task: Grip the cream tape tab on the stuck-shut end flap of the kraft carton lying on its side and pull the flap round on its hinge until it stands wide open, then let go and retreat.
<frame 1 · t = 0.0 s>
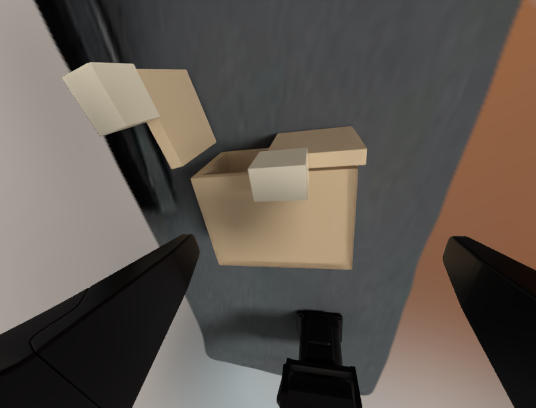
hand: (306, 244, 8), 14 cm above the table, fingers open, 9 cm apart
carton: (284, 189, 23), on the table
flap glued: (312, 153, 16), point 5 cm above the table, hinge at 0.0°
flap open: (167, 119, 16), point 5 cm above the table, hinge at 100.0°
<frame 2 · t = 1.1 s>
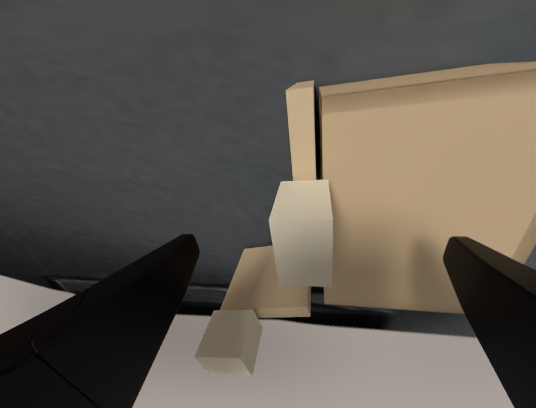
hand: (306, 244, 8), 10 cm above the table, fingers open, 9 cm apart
carton: (385, 172, 16), on the table
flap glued: (305, 159, 11), point 5 cm above the table, hinge at 0.0°
flap open: (266, 293, 17), point 5 cm above the table, hinge at 100.0°
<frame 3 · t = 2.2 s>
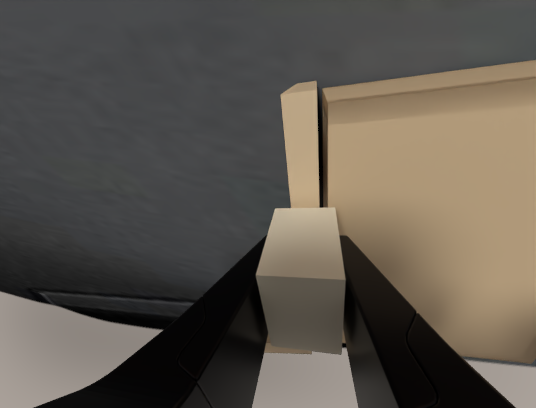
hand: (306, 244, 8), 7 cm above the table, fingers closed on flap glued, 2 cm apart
carton: (397, 186, 14), on the table
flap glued: (306, 177, 9), point 5 cm above the table, hinge at 0.0°, touching gripper
flap open: (261, 322, 15), point 5 cm above the table, hinge at 100.0°
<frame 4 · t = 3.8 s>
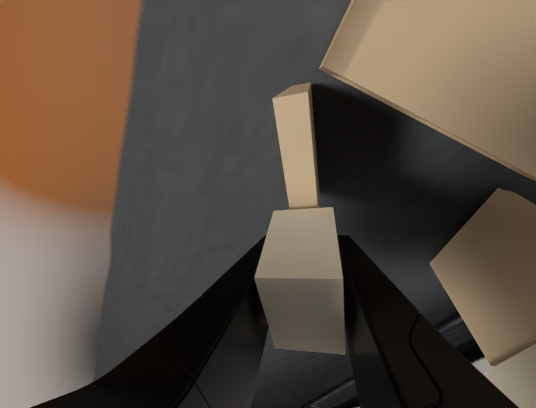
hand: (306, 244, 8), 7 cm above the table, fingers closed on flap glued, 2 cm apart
carton: (496, 21, 10), on the table
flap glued: (303, 178, 9), point 5 cm above the table, hinge at 56.1°, touching gripper
flap open: (530, 299, 10), point 5 cm above the table, hinge at 100.0°
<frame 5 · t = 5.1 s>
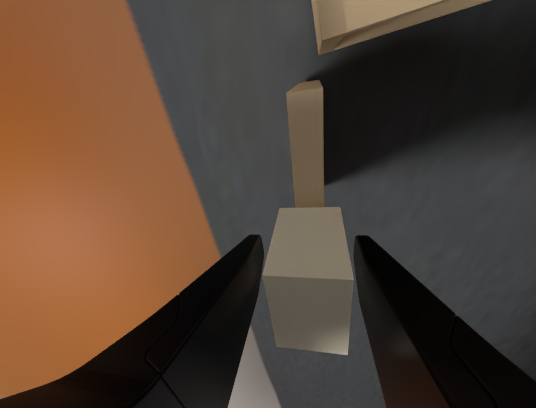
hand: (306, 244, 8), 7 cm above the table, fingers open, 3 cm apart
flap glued: (309, 176, 9), point 5 cm above the table, hinge at 97.5°
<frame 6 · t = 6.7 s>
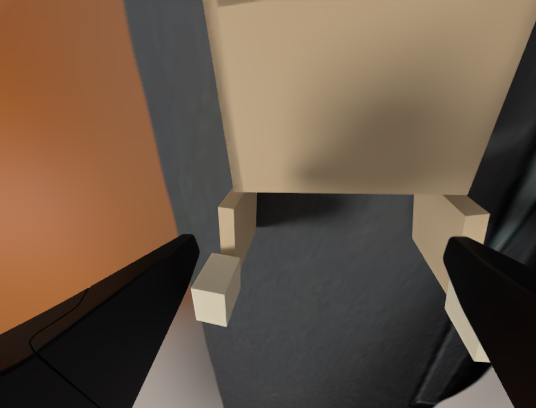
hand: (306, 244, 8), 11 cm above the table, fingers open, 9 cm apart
carton: (335, 93, 16), on the table
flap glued: (235, 234, 17), point 5 cm above the table, hinge at 97.5°
flap open: (452, 245, 14), point 5 cm above the table, hinge at 100.0°
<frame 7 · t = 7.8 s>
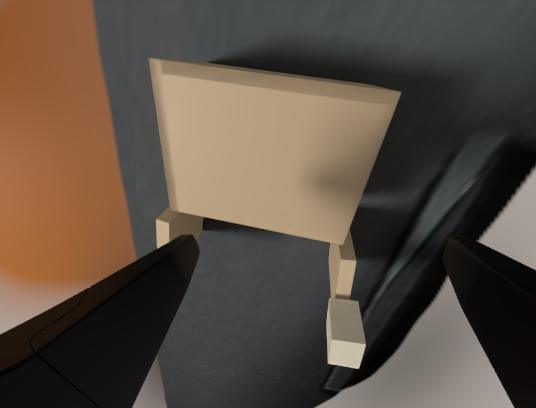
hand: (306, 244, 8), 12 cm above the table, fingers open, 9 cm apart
carton: (276, 136, 18), on the table
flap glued: (174, 239, 19), point 5 cm above the table, hinge at 97.5°
flap open: (341, 275, 18), point 5 cm above the table, hinge at 100.0°
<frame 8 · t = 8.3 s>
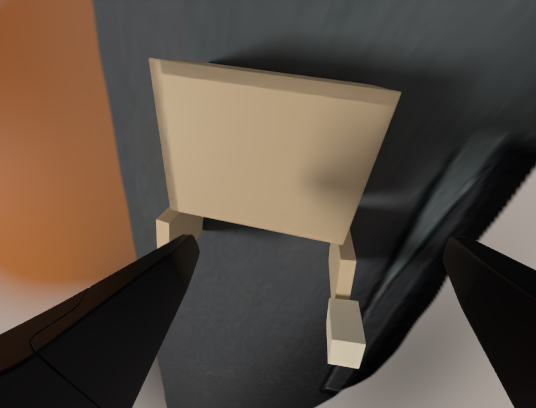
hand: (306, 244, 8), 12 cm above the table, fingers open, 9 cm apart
carton: (276, 136, 18), on the table
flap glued: (174, 239, 19), point 5 cm above the table, hinge at 97.5°
flap open: (341, 275, 18), point 5 cm above the table, hinge at 100.0°
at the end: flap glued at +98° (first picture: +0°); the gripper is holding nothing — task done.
